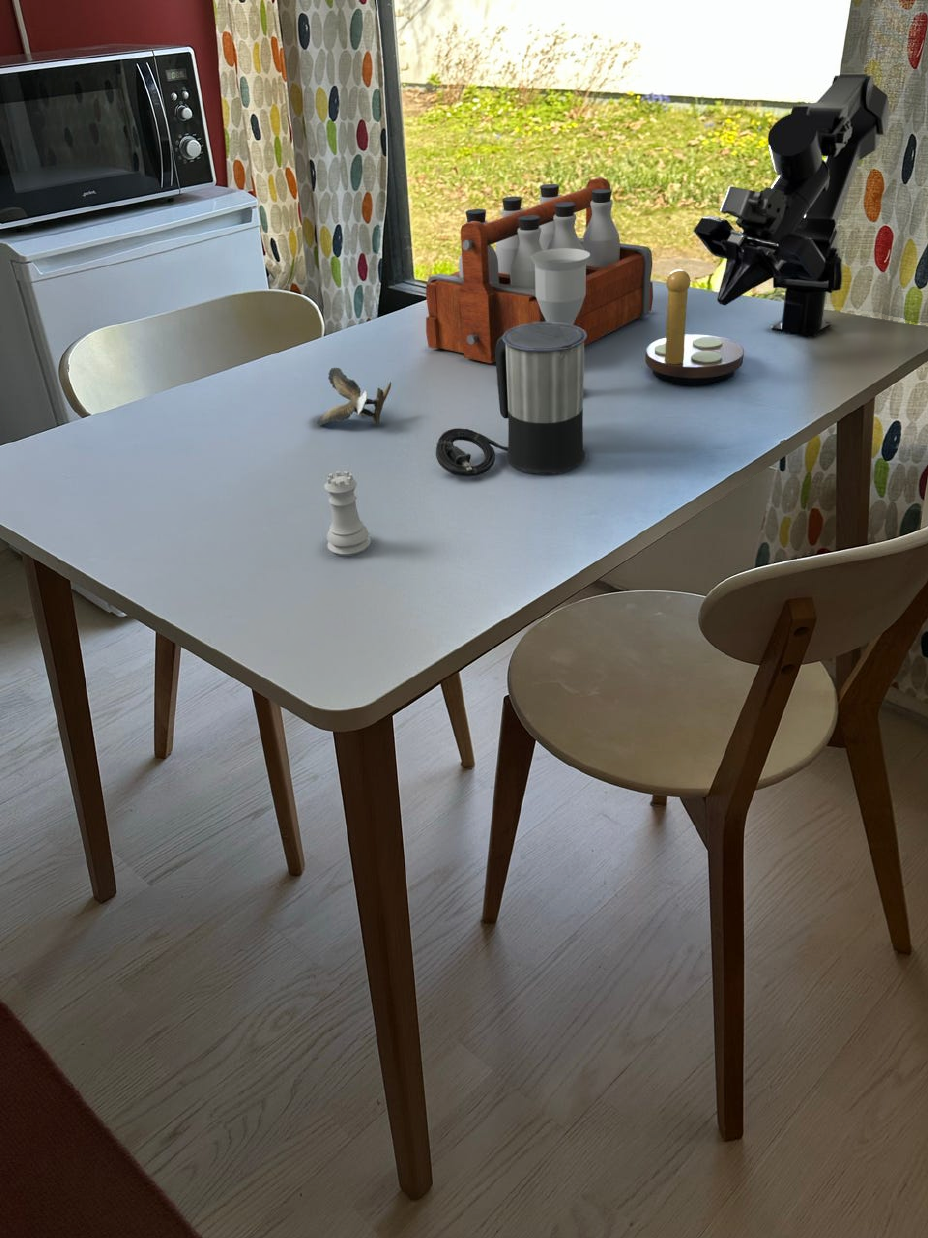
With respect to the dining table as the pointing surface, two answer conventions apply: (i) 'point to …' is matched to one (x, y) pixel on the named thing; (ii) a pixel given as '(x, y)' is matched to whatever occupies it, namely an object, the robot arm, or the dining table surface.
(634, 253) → the milk bottle holder
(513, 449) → the milk frother
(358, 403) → the eagle figurine
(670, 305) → the joystick with buttons
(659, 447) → the dining table surface
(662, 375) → the holder base
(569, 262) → the chalice
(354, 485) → the rook chess piece
